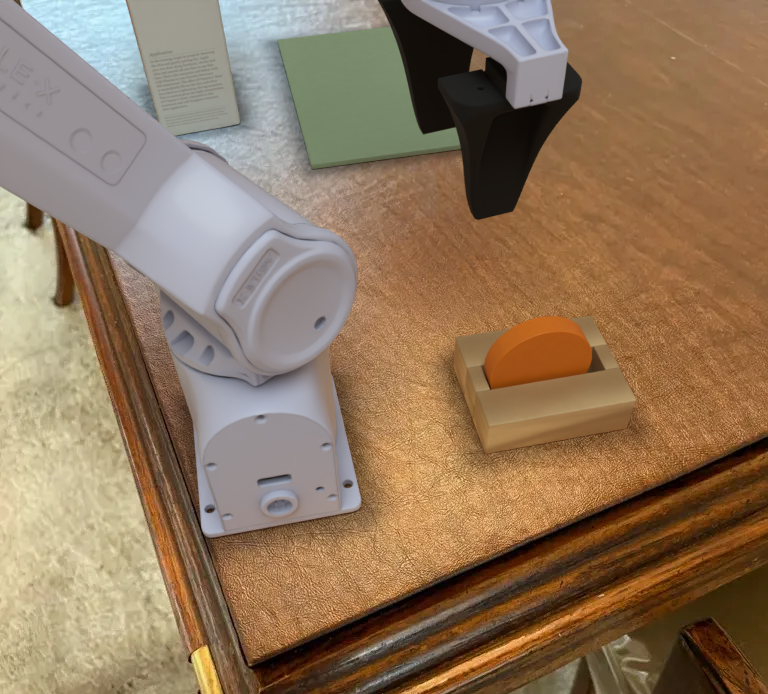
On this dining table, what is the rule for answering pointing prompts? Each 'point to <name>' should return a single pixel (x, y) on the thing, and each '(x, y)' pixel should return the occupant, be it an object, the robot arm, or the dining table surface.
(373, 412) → the dining table surface
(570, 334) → the disc
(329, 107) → the mat
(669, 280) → the dining table surface
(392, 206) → the dining table surface
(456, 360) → the holder
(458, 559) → the dining table surface
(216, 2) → the small box
